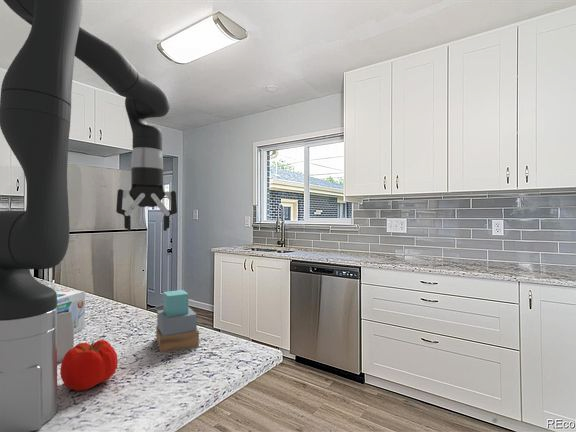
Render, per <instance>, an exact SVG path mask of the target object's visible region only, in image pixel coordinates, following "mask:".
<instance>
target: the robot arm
mask: <svg viewBox="0 0 576 432" xmlns="http://www.w3.org/2000/svg"><path fill="white" fill-rule="evenodd" d="M3 2H4V3H5V4H6V6H7V7H9V9H11V11H12V12H14V14H16V15H17V16H19V17H20V18H21V19H22V20H24V21H25V22H26V23H27V24H29V25H30V26H31V28H30V31H29V34H28V36H27V37H26V40H25V41H24V43H23V45H22V47H21V48H20V49H19V51H18V52H17V54H16V55H15V57H14V58H13V60H12V62H11V64H9V67H8V69H6V70H7V71H6V73H5V75H4V77H3V80H2V82H1V87H0V130H1V134H2V135H3V138H5V141H6V143H7V145H8V146H9V148H10V149H11V151H12V153H13V155H14V156H15V158H16V159H17V161H18V164H19V165H20V167H21V168H22V170H23V171H22V172H23V175H24V177H25V181H26V208H25V210H0V432H33V431H38V430H41V429H42V426H43V425H45V424H46V422H48V421H49V420H51V419H52V418H53V417H54V416H55V415H56V413H58V361H57V294H56V293H57V292H56V290H55V289H54V288H52V287H49V286H48V285H46V284H43V283H41V282H40V281H38V279H36V278H34V276H33V274H32V273H31V270H48V269H52V268H55V267H57V266H58V265H59V264H60V263H61V262H63V260H64V258H65V256H66V254H67V252H68V248H69V242H70V231H71V230H70V211H69V193H68V158H69V157H68V156H69V139H70V131H71V116H72V87H73V75H74V66H75V58H77V59H78V60H79V61H81V62H82V63H83V64H84V65H86V66H87V67H88V68H90V70H92V71H93V72H95V74H96V75H97V76H98V77H100V79H101V80H102V81H103V82H105V83H106V84H107V85H108V86H109V87H110V88H111V89H112V90H113V91H114V92H115V93H116V94H118V95H119V96H120V97H123V98H125V100H124V108H125V112H126V114H127V117H128V122H129V125H130V129H131V132H132V150H131V151H132V152H131V161H130V162H131V163H130V166H131V171H130V172H131V173H130V174H131V175H130V176H131V188H130V189H129V190H124V189H121V188H119V189H118V190H117V196H116V210H115V211H116V213H117V214H119V215H122V216H123V217H124V223H123V225H124V229H125V230H127V232H131V231H132V230H131V226H132V225H131V224H132V222H131V214H132V212H133V211H134V210H135V209H136V208H137V207H140V208H145V207H149V208H155V207H157V208H158V209H159V210H160V211H161V212H162V214H163V216H162V230H163V231H164V232H165V231H166V232H167V230H168V229H169V228H170V217H171V216H172V215H175V214H177V213H178V207H177V206H178V205H177V204H178V203H177V192H176V191H175V190H172V191H165V190H164V158H163V157H164V156H163V133H162V130H161V129H160V128H159V127H157V126H154V125H150V124H149V125H148V122H147V119H149V118H150V119H153V118H161V117H164V116H167V114H169V112H170V108H171V106H170V105H171V103H170V99H169V97H168V94H166V92H165V91H164V90H163V89H162V88H161V87H160V86H159V85H158V84H156V83H155V82H153V81H152V80H150V79H149V78H148V77H146V76H144V75H142V74H141V73H139V71H138V70H137V69H136V68H135V66H134V65H133V64H132V63H131V61H129V60H128V58H127V57H126V56H125V55H124V54H123V53H122V52H121V51H120V50H118V49H117V48H115V47H114V46H113V45H111V44H109V43H107V42H106V41H104V40H103V39H101V38H99V37H97V36H96V35H93V34H92V33H90V32H88V31H87V30H85V29H84V28H82V27H81V21H82V16H83V15H82V14H83V8H84V1H83V0H3ZM127 196H129V197H130V198H131V199H132V200H133V202H132V204H130V205H129V207H128V208H127V209H123V200H124V199H126V198H127ZM165 196H166V197H167V199H168V200H170V209H169V210H168V209H167V207H166V206H165V205H164V203H163V202H162V200H163V199H164V198H165Z"/></svg>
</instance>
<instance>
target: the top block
mask: <svg viewBox="0 0 576 432" xmlns="http://www.w3.org/2000/svg"><path fill="white" fill-rule="evenodd" d="M156 311H157V315H156V316H157V317H156V319H157V321H156V322H157V323H156V324H157V327H158V328H159V330H160V332H161V334H162V336H167V335H173V334H179V333H185V332H191V331H196V330H197V329H198V326H197V323H198V321H197V319H198V318H197V313H196V312H195V311H194V310H193V309H192V308H191V307H190V306H188V314H182V315H176V316H169V317H167V315H166V314H165V313H164V312H163V309H160V310H156Z"/></svg>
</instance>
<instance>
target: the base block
mask: <svg viewBox="0 0 576 432" xmlns="http://www.w3.org/2000/svg"><path fill="white" fill-rule="evenodd" d="M155 327H156V330H155V332H156V333H155V334H156V335H155V340H156V343H157V346H158V349H159V353H167V352H172V351H178V350H183V349H189V348H194V347H200V346H199V345H200V344H199V342H200V336H199V334H200V330H199V329H198V328H197V330H196V331H191V332H185V333H179V334H173V335H167V336H162V334H161V332H160V330H159V328H158V327H157V325H155Z"/></svg>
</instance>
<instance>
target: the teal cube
mask: <svg viewBox="0 0 576 432" xmlns="http://www.w3.org/2000/svg"><path fill="white" fill-rule="evenodd" d="M162 294H163V295H162V310H163V312H164V313H165V314H166V315H167V317H169V316H176V315H182V314H188V307H189V293H188V292H187V291H185V290H184V289H179V290H177V289H176V290H170V291H163V292H162Z"/></svg>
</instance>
